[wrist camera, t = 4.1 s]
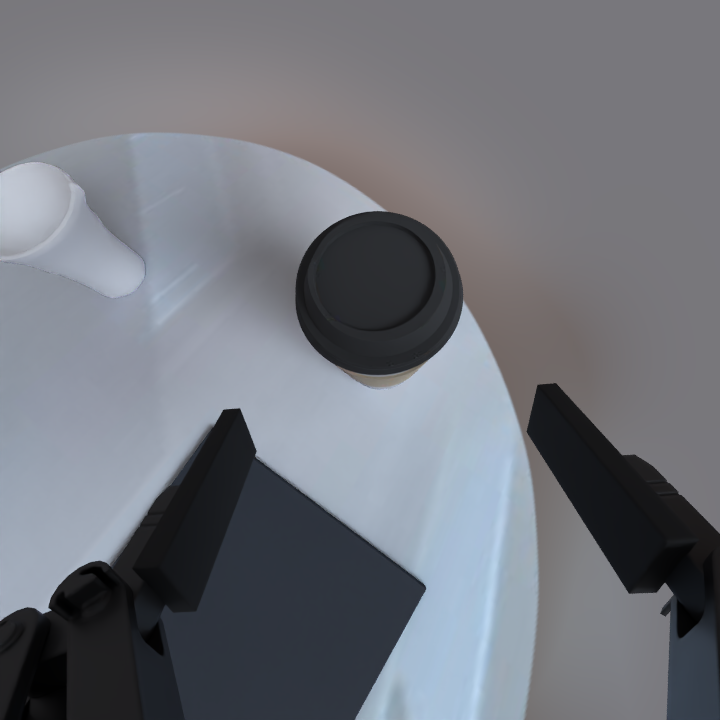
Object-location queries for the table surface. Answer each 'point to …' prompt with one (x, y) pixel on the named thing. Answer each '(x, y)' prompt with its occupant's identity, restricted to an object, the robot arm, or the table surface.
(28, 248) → the cup
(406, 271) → the coffee cup
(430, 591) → the table surface
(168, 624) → the mat
